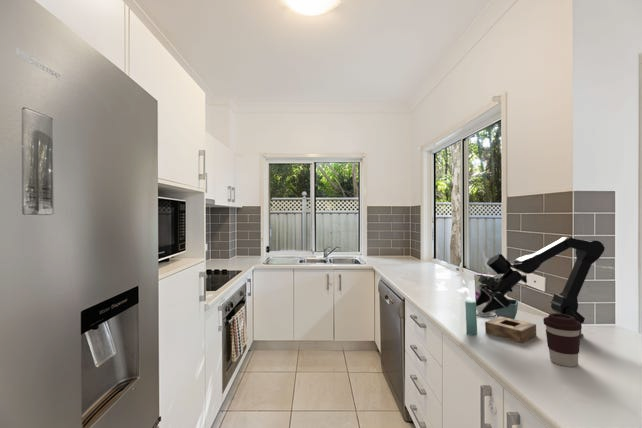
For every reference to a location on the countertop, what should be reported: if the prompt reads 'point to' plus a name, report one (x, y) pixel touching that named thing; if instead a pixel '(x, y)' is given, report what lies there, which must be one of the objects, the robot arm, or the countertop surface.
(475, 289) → the candy bar box
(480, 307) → the teacup
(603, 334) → the countertop surface
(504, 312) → the flower pot
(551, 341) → the coffee cup
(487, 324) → the brown wooden box
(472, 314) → the dowel
